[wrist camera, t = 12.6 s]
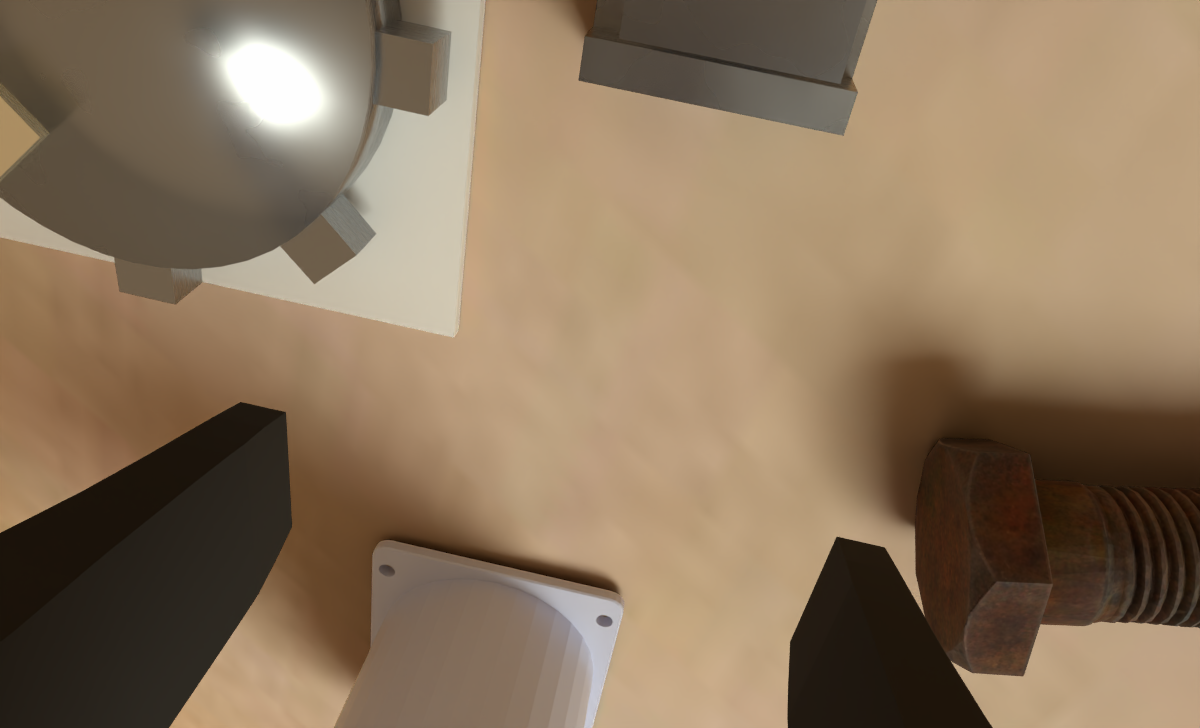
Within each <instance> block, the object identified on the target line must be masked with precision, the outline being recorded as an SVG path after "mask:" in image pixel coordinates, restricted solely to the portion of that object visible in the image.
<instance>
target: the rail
mask: <svg viewBox="0 0 1200 728" xmlns="http://www.w3.org/2000/svg"><path fill="white" fill-rule="evenodd" d="M876 3H877V0H867V1H866V4H865V8H864V11H863V14H862V17H861V20H860V23H859V27H858V30H857V33H856V36H855V39H854V42H853V46H852V49H851V52H850V55H849V58H848V61H847V65H846V68H845V71H844V74H843V77H842V80H841V84H838V83H833V82H828V81H823V80H818V79H813V78H808V77H804V76H799V75H794V74H789V73H784V72H779V71H774V70H770V69H765V68H760V67H755V66H750V65H745V64H741V63H736V62H731V61H726V60H721V59H716V58H711V57H707V56H702V55H697V54H692V53H687V52H682V51H677V50H673V49H668V48H663V47H658V46H653V45H648V44H644V43H639V42H634V41H629V40H624V39H619V35H620V29H621V23H622V17H623V11H624V5H625V0H597V6H596V12H595V19H594V25H593V27H592V28H591V29H590V30H589V32H588V33H587V34H586V35H585V40H584V46H583V53H582V60H581V67H580V74H579V81H583V82H588V83H593V84H598V85H603V86H607V87H612V88H617V89H622V90H627V91H631V92H636V93H641V94H646V95H651V96H655V97H660V98H665V99H670V100H675V101H679V102H684V103H689V104H694V105H699V106H703V107H708V108H713V109H718V110H723V111H727V112H732V113H737V114H742V115H747V116H751V117H756V118H761V119H766V120H771V121H775V122H780V123H785V124H790V125H795V126H799V127H804V128H809V129H814V130H819V131H823V132H828V133H833V134H838V135H843V136H844V133H845V129H846V126H847V123H848V120H849V117H850V114H851V111H852V108H853V105H854V102H855V99H856V96H857V93H858V92H857V89H856V87H855V85H854V82H853V80H852V77H853V74H854V71H855V68H856V65H857V61H858V58H859V55H860V52H861V49H862V46H863V43H864V40H865V37H866V34H867V30H868V27H869V24H870V21H871V18H872V15H873V12H874V9H875V6H876Z"/></svg>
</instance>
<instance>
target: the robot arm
mask: <svg viewBox="0 0 1200 728" xmlns="http://www.w3.org/2000/svg"><path fill="white" fill-rule="evenodd" d="M291 528H292V517H291V498H290V480H289V461H288V443H287V424H286V412H282V411H278V410H273V409H269V408H264V407H260V406H255V405H251V404H247V403H242V402H240V403H238V404H236V405H235V406H233V407H231V408H229V409H227V410H225V411H223V412H222V413H220V414H218V415H216V416H215V417H213V418H211V419H209V420H208V421H206V422H204V423H202V424H201V425H199V426H197V427H195V428H194V429H192V430H190V431H188V432H187V433H185V434H183V435H182V436H180V437H178V438H176V439H175V440H173V441H171V442H169V443H168V444H166V445H164V446H162V447H161V448H159V449H157V450H156V451H154V452H152V453H150V454H149V455H147V456H145V457H143V458H141V459H140V460H138V461H136V462H134V463H132V464H131V465H129V466H127V467H125V468H123V469H122V470H120V471H118V472H116V473H115V474H113V475H111V476H109V477H107V478H106V479H104V480H102V481H100V482H98V483H97V484H95V485H93V486H91V487H89V488H88V489H86V490H84V491H82V492H80V493H78V494H76V495H74V496H72V497H70V498H68V499H66V500H64V501H62V502H60V503H58V504H56V505H54V506H53V507H51V508H49V509H47V510H45V511H43V512H41V513H39V514H37V515H35V516H33V517H31V518H29V519H27V520H25V521H23V522H21V523H19V524H17V525H15V526H13V527H11V528H9V529H7V530H5V531H3V532H1V533H0V728H169V727H170V725H171V724H172V723H173V721H174V720H175V718H176V717H177V715H178V714H179V712H180V711H181V709H182V708H183V706H184V705H185V703H186V702H187V700H188V699H189V697H190V696H191V694H192V693H193V691H194V690H195V688H196V687H197V685H198V684H199V683H200V681H201V680H202V678H203V677H204V675H205V674H206V672H207V671H208V669H209V668H210V666H211V665H212V663H213V662H214V660H215V659H216V657H217V656H218V654H219V653H220V651H221V650H222V649H223V647H224V646H225V644H226V643H227V641H228V639H229V638H230V636H231V635H232V633H233V632H234V630H235V629H236V627H237V626H238V624H239V623H240V621H241V620H242V618H243V617H244V615H245V614H246V612H247V611H248V609H249V608H250V606H251V605H252V603H253V602H254V600H255V599H256V597H257V595H258V594H259V592H260V590H261V588H262V586H263V584H264V582H265V580H266V578H267V576H268V574H269V573H270V571H271V569H272V567H273V565H274V563H275V561H276V559H277V557H278V555H279V553H280V550H281V548H282V546H283V544H284V542H285V540H286V538H287V536H288V534H289V532H290V530H291ZM387 565H389V566H391V567H389V566H387ZM623 610H624V600H623V598H622V597H621V596H620V595H619V594H617V593H616V592H613V591H610V590H605V589H601V588H597V587H592V586H588V585H584V584H579V583H575V582H571V581H566V580H562V579H558V578H553V577H549V576H545V575H540V574H536V573H531V572H527V571H523V570H518V569H514V568H510V567H505V566H501V565H497V564H492V563H488V562H484V561H479V560H475V559H471V558H466V557H462V556H458V555H453V554H449V553H445V552H440V551H436V550H432V549H427V548H423V547H419V546H414V545H410V544H406V543H401V542H397V541H393V540H383V541H380V542H379V543H378V544H377V545H376V547H375V549H374V551H373V554H372V599H371V648H370V650H369V653H368V655H367V657H366V659H365V661H364V663H363V666H362V668H361V670H360V672H359V674H358V676H357V679H356V681H355V683H354V685H353V687H352V689H351V691H350V694H349V696H348V698H347V700H346V702H345V704H344V707H343V709H342V711H341V713H340V715H339V717H338V720H337V722H336V724H335V726H334V728H592V727H593V724H594V720H595V716H596V712H597V709H598V705H599V701H600V697H601V694H602V690H603V686H604V682H605V679H606V675H607V671H608V667H609V664H610V660H611V656H612V652H613V649H614V645H615V641H616V637H617V634H618V630H619V626H620V622H621V619H622V615H623ZM602 615H606V616H608V617H604V616H602ZM787 719H788V728H992V726H991V725H990V723H989V722H988V720H987V719H986V717H985V716H984V714H983V712H982V711H981V709H980V708H979V706H978V704H977V703H976V701H975V699H974V698H973V696H972V695H971V693H970V691H969V690H968V688H967V687H966V685H965V683H964V682H963V680H962V679H961V677H960V675H959V674H958V672H957V671H956V669H955V667H954V666H953V664H952V662H951V661H950V659H949V657H948V656H947V654H946V652H945V651H944V649H943V647H942V646H941V644H940V642H939V641H938V639H937V637H936V635H935V634H934V632H933V630H932V629H931V627H930V625H929V623H928V622H927V620H926V618H925V616H924V615H923V613H922V611H921V609H920V608H919V606H918V604H917V602H916V601H915V599H914V597H913V595H912V594H911V592H910V590H909V588H908V587H907V585H906V583H905V581H904V580H903V578H902V576H901V574H900V573H899V571H898V569H897V567H896V566H895V564H894V562H893V561H892V559H891V557H890V555H889V554H888V552H887V550H886V549H885V548H884V547H880V546H876V545H871V544H867V543H862V542H858V541H853V540H849V539H845V538H840V537H836V540H835V542H834V544H833V546H832V549H831V551H830V553H829V555H828V558H827V560H826V562H825V564H824V567H823V569H822V571H821V574H820V576H819V578H818V580H817V583H816V585H815V587H814V589H813V592H812V594H811V596H810V598H809V601H808V603H807V605H806V607H805V610H804V612H803V614H802V616H801V619H800V621H799V623H798V625H797V628H796V630H795V632H794V634H793V637H792V639H791V641H790V659H789V681H788V718H787Z"/></svg>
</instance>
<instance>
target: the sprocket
mask: <svg viewBox="0 0 1200 728" xmlns="http://www.w3.org/2000/svg"><path fill="white" fill-rule="evenodd" d="M450 45H451V31H447V30H442V29H438V28H433V27H429V26H424V25H419V24H415V23H410V22H406V21H402V13H401V6H400V0H0V198H2V199H3V200H4V201H5V202H7V203H8V204H9V205H11V206H12V207H13V208H15V209H17V210H18V211H20V212H21V213H23V214H24V215H26V216H28V217H29V218H31V219H32V220H34V221H35V222H37V223H39V224H40V225H42V226H43V227H45V228H47V229H49V230H51V231H53V232H55V233H57V234H59V235H61V236H63V237H65V238H67V239H68V240H70V241H72V242H75V243H77V244H80V245H82V246H85V247H87V248H89V249H92V250H94V251H97V252H99V253H102V254H105V255H108V256H112V257H114V261H115V267H116V273H117V279H118V285H119V291H120V292H124V293H128V294H132V295H136V296H141V297H145V298H149V299H154V300H158V301H162V302H167V303H171V304H177V303H178V302H179V301H180V300H182V299H183V298H184V297H185V296H186V295H188V294H189V293H190V292H191V291H192V290H194V289H195V288H196V287H197V286H198V285H200V284H201V283H202V282H203V281H202V271H201V269H203V268H215V267H223V266H227V265H231V264H236V263H240V262H244V261H248V260H250V259H253V258H255V257H258V256H260V255H263V254H265V253H268V252H270V251H272V250H274V249H276V248H277V247H279V246H280V247H281V248H282V249H283V250H284V251H285V252H286V253H287V254H288V256H289V257H290V258H291V259H292V260H293V261H294V262H295V263H296V264H297V266H298V267H299V268H300V269H301V270H302V271H303V272H304V273H305V275H306V276H307V277H308V278H309V279H310V280H311V281H312V282H313V283H314V284H316V283H317V282H318V281H320V280H321V279H323V278H324V277H326V276H327V275H329V274H330V273H332V272H333V271H335V270H336V269H337V268H339V267H340V266H342V265H343V264H345V263H346V262H348V261H349V260H351V259H352V258H354V257H355V256H356V255H357V254H358V253H359V252H360V251H361V250H362V249H363V248H364V247H365V246H366V245H367V244H368V243H369V241H370V240H371V239H372V238H373V237H374V236H375V235H376V233H375V231H374V230H373V229H372V228H371V227H370V225H369V224H368V223H367V222H366V221H365V220H364V218H363V217H362V216H361V215H360V214H359V212H358V211H357V210H356V209H355V208H354V206H353V205H352V204H351V203H350V202H349V200H348V199H347V198H346V197H345V196H344V193H345V192H346V191H347V190H349V188H350V187H351V186H352V185H353V184H354V182H355V181H356V180H357V179H358V178H359V176H360V175H361V174H362V173H363V172H364V170H365V169H366V168H367V166H368V164H369V163H370V161H371V159H372V158H373V156H374V154H375V153H376V151H377V149H378V147H379V146H380V144H381V142H382V139H383V137H384V134H385V132H386V129H387V127H388V124H389V122H390V119H391V117H392V113H393V108H394V109H398V110H403V111H407V112H412V113H416V114H421V115H425V116H429V115H430V114H432V113H433V112H434V111H435V110H436V109H437V108H438V107H439V106H441V105H442V104H443V103H444V102H445V101H446V100H447V87H448V73H449V59H450Z"/></svg>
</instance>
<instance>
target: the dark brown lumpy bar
mask: <svg viewBox="0 0 1200 728" xmlns="http://www.w3.org/2000/svg"><path fill="white" fill-rule="evenodd" d="M915 552H916V577H917V581H918V585H919V590H920V595H921V600H922V605H923V610H924V614H925V618H926V620H927V622H928V623H929V625H930V627H931V629H932V630H933V632H934V634H935V635H936V637H937V639H938V641H939V642H940V644H941V646H942V647H943V649H944V651H945V652H946V654H947V656H948V657H949V659H950V660H951V661H952V662H953V663H955V664H957V665H959V666H961V667H962V668H964V669H966V670H968V671H970V672H972V673H981V674H996V675H1011V676H1023V675H1024V674H1025V670H1026V667H1027V664H1028V661H1029V658H1030V655H1031V652H1032V648H1033V645H1034V642H1035V639H1036V636H1037V633H1038V630H1039V627H1040V624H1046V625H1070V626H1086V625H1090V624H1092V623H1096V622H1101V621H1102V622H1110V623H1115V622H1122V623H1128V622H1135V623H1149V624H1155V625H1158V624H1162V625H1171V626H1178V625H1179V626H1180V627H1198V628H1200V489H1187V488H1175V489H1169V488H1159V489H1158V488H1156V487H1145V488H1141V487H1129V488H1128V487H1126V486H1120V487H1112V486H1093V485H1082V484H1080V483H1078V482H1075V481H1056V480H1035V479H1034V473H1033V467H1032V462H1031V456H1030V454H1029V453H1026V452H1023V451H1020V450H1018V449H1015V448H1012V447H1009V446H1006V445H1004V444H1001V443H998V442H995V441H992V440H986V439H949V438H941V439H939V440H938V442H937V443H936V445H935V446H934V447H933V449H932V450H931V452H930V453H929V455H928V457H927V459H926V461H925V463H924V467H923V472H922V478H921V483H920V487H919V490H918V496H917V506H916V521H915Z"/></svg>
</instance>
